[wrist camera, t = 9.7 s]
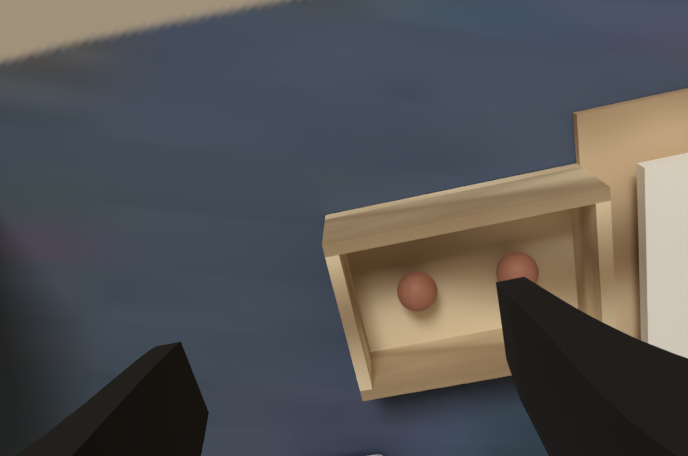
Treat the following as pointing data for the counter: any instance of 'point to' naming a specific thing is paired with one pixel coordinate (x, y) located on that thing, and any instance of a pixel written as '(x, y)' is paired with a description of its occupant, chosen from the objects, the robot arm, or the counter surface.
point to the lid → (664, 252)
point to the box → (463, 273)
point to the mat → (629, 175)
